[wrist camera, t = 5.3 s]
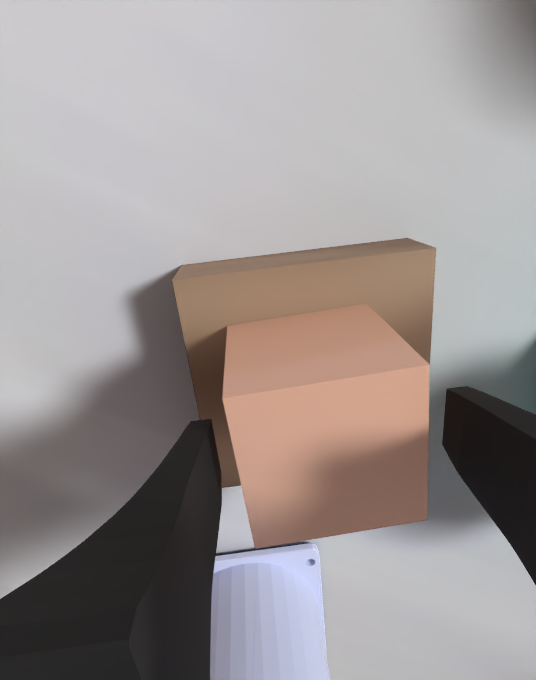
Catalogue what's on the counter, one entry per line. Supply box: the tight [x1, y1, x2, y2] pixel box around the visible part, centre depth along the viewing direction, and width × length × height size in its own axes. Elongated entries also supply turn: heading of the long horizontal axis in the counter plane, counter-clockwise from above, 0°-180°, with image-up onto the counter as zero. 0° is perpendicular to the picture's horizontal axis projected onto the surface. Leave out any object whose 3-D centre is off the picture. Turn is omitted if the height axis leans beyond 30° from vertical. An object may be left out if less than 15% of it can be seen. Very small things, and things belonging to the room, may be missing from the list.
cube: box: [222, 304, 430, 549], centre depth 13 cm, size 5×5×5 cm
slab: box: [172, 238, 436, 488], centre depth 17 cm, size 9×9×3 cm
